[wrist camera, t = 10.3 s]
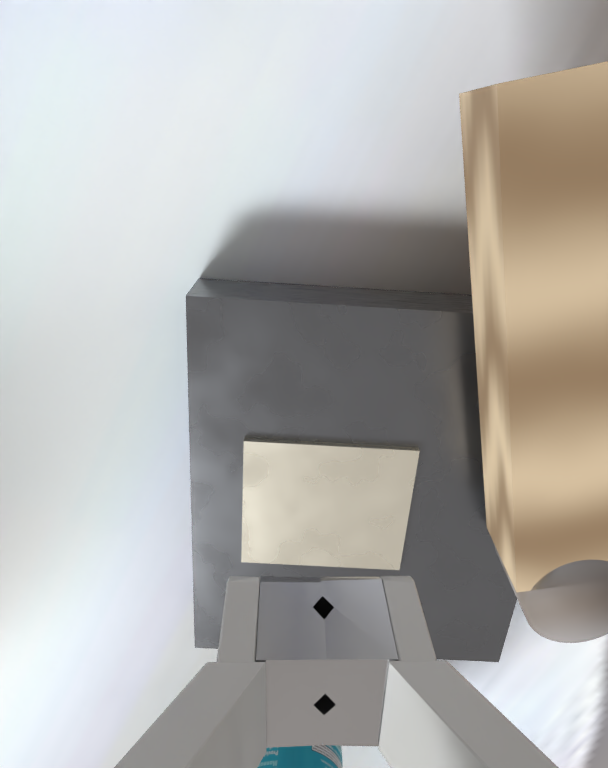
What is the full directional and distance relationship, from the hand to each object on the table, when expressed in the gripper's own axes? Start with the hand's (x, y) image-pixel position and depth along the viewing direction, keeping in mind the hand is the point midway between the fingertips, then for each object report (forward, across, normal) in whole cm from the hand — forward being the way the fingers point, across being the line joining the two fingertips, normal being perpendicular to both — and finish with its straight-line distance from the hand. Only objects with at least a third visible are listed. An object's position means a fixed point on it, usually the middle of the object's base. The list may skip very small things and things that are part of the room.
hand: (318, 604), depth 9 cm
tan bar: (+13, -10, +2) cm, 17 cm away
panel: (+18, -4, +10) cm, 21 cm away
